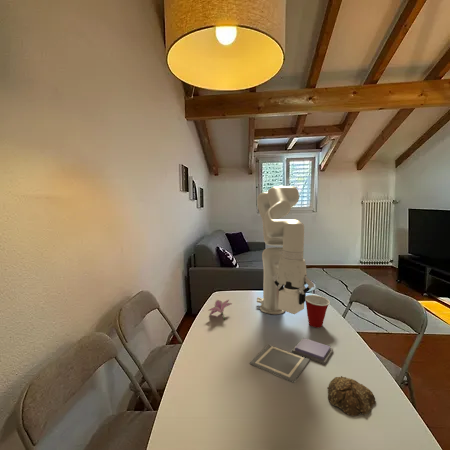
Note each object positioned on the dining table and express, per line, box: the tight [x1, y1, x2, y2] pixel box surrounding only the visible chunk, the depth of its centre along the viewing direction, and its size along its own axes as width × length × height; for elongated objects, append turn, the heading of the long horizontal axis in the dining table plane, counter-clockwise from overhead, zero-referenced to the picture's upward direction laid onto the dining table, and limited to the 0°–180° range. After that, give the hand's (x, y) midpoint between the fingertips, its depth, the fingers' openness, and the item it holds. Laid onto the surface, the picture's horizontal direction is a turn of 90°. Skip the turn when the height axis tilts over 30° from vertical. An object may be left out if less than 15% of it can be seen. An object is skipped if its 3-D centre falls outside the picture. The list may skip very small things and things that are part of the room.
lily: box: [208, 299, 233, 321], centre depth 131 cm, size 12×12×10 cm
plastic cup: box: [305, 294, 331, 329], centre depth 124 cm, size 11×11×12 cm
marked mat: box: [249, 344, 311, 383], centre depth 97 cm, size 16×14×1 cm
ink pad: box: [291, 337, 334, 365], centre depth 103 cm, size 12×10×2 cm
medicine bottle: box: [278, 281, 305, 315], centre depth 105 cm, size 7×7×12 cm
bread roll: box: [327, 375, 376, 417], centre depth 80 cm, size 13×12×5 cm
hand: (291, 300), depth 106 cm, fingers closed on medicine bottle, 7 cm apart
